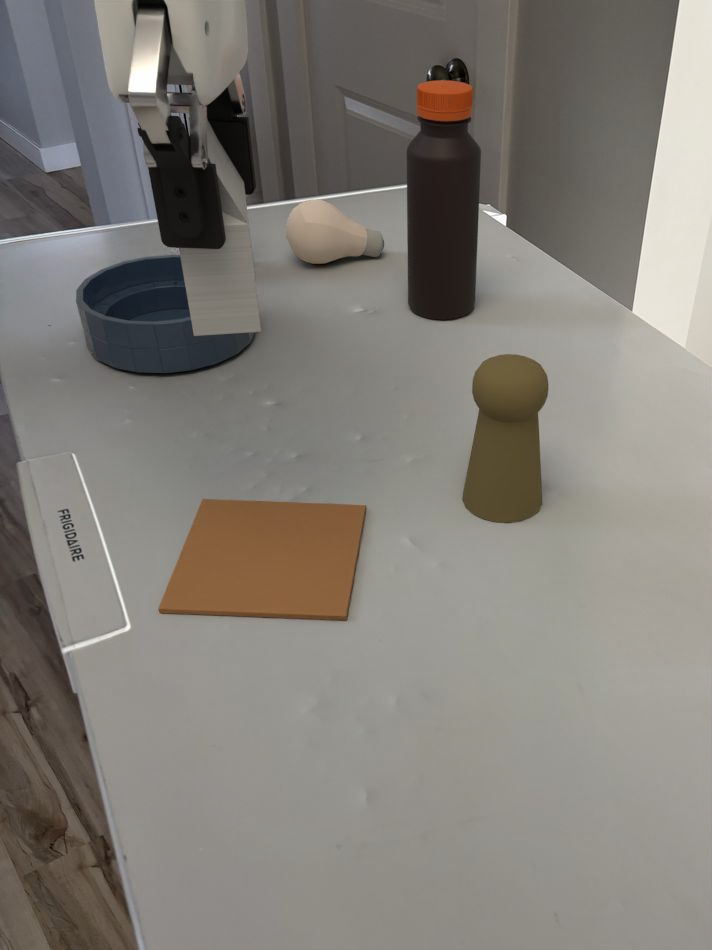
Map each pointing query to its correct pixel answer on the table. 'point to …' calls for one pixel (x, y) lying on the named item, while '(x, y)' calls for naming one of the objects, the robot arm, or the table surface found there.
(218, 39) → the robot arm
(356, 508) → the mat
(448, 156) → the bottle
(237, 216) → the white milk carton
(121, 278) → the bowl
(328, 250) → the light bulb
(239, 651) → the table surface
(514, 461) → the pepper shaker
